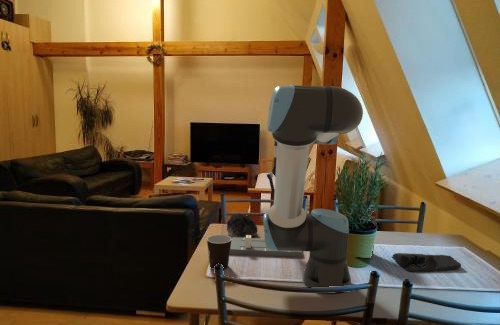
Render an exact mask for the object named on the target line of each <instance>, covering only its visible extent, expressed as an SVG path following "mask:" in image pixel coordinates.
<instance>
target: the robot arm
mask: <svg viewBox="0 0 500 325" xmlns="http://www.w3.org/2000/svg"><path fill="white" fill-rule="evenodd" d="M363 114H364V109H363V105H362V103H361V101H360V99H359V98H358V97H357V96H356V95H355V94H354V93H352V92H351V91H349V90H347V89H345V88H343V87H340V86H334V85H333V86H332V85H328V86H327V85H325V86H324V85H294V84H290V85H277V86H276V87H274V89H273V91H272V93H271V97H270V103H269V107H268V115H267V122H266V124H267V127H266V129H267V132H270V133H271V135H272V139H273V141H274V142H273V143H274V144H273V156H274V157H273V168H272V170H271V171H270V172H269V173H268V172H267V173H266V178H267V179H268V180H269V181H268V182H269V186H270V191H271V194H272V195H271V196H272V198H273V204H272V206H270V208H269V209H268V212H265V213H264V214H263V233H264V239H265V243H266V247H267V248H268V249H270V250H277V251H302V252H309V256H308V260H307V262H306V265H305V267H304V270H303V274H302V281H303V283H304V285H306V286H307V287H308V288H309V287H329V286H344V285H351V286H352V277H351V273H350V270H349V266H348V262H347V259H348V258H347V256H348V245H349V244H348V242H349V233H350V230H349V219H348V218H347V217H346V215H344V214H342V213H340V212H339V211H336V210H335V211H334V210H332V209H326V208H314V209H312V210H311V212H310V214H307V212H306V210H305V209H304V208H303V206H304V205H303V202H304V196H305V185H306V180H307V179H306V178H307V170H308V163H309V162H308V161H309V152H310V146H311V145H336V144H337V141H338V139H339V135H345V134H348V133H350V132H352V131H354V130H356V129H357V128H358V126H359V125H360V124H361V122H362V119H363ZM273 177H274V178H275V179H274V180H275V181H273Z"/></svg>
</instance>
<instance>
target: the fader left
mask: <svg viewBox="0 0 500 325" xmlns="http://www.w3.org/2000/svg"><path fill="white" fill-rule="evenodd" d="M251 238H252V237H251V235H246V247H245V248H251Z"/></svg>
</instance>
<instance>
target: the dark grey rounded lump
mask: <svg viewBox="0 0 500 325" xmlns="http://www.w3.org/2000/svg"><path fill="white" fill-rule="evenodd" d="M226 224H227V225H226V232H227V234H228V236H230V237H231V238H232V237H236V238H244V237H245V238H246V235H251V238H253V237H255V236H257V234H258V230H259V229H258V226H257V223H256V222H255V220H254V219H253V218H251V217H249V215H245V214H242V213H238V212H237V213H232V215H231V216H230V218H229V219H228V220H227V221H226Z"/></svg>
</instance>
